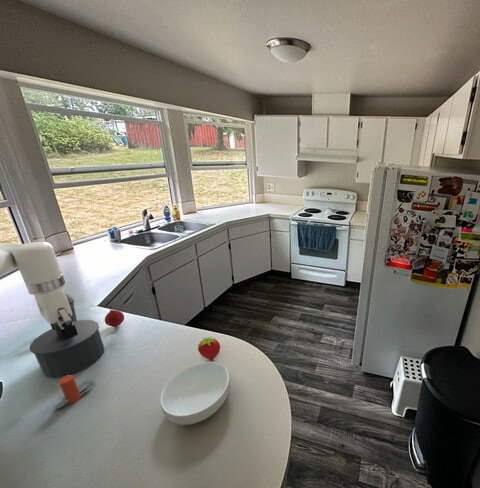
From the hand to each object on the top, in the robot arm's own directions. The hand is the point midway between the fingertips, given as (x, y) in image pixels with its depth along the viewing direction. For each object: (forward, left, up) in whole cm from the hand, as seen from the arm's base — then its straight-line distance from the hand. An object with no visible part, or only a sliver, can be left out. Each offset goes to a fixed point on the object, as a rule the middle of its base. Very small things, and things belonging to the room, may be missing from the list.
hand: (65, 332), depth 79 cm
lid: (0, 0, -2) cm, 2 cm away
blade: (-6, -18, -11) cm, 22 cm away
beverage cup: (+5, +21, -11) cm, 24 cm away
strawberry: (+23, -38, -11) cm, 46 cm away
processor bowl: (0, 0, -11) cm, 11 cm away
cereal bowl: (+11, -49, -11) cm, 51 cm away
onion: (+15, +8, -11) cm, 20 cm away
